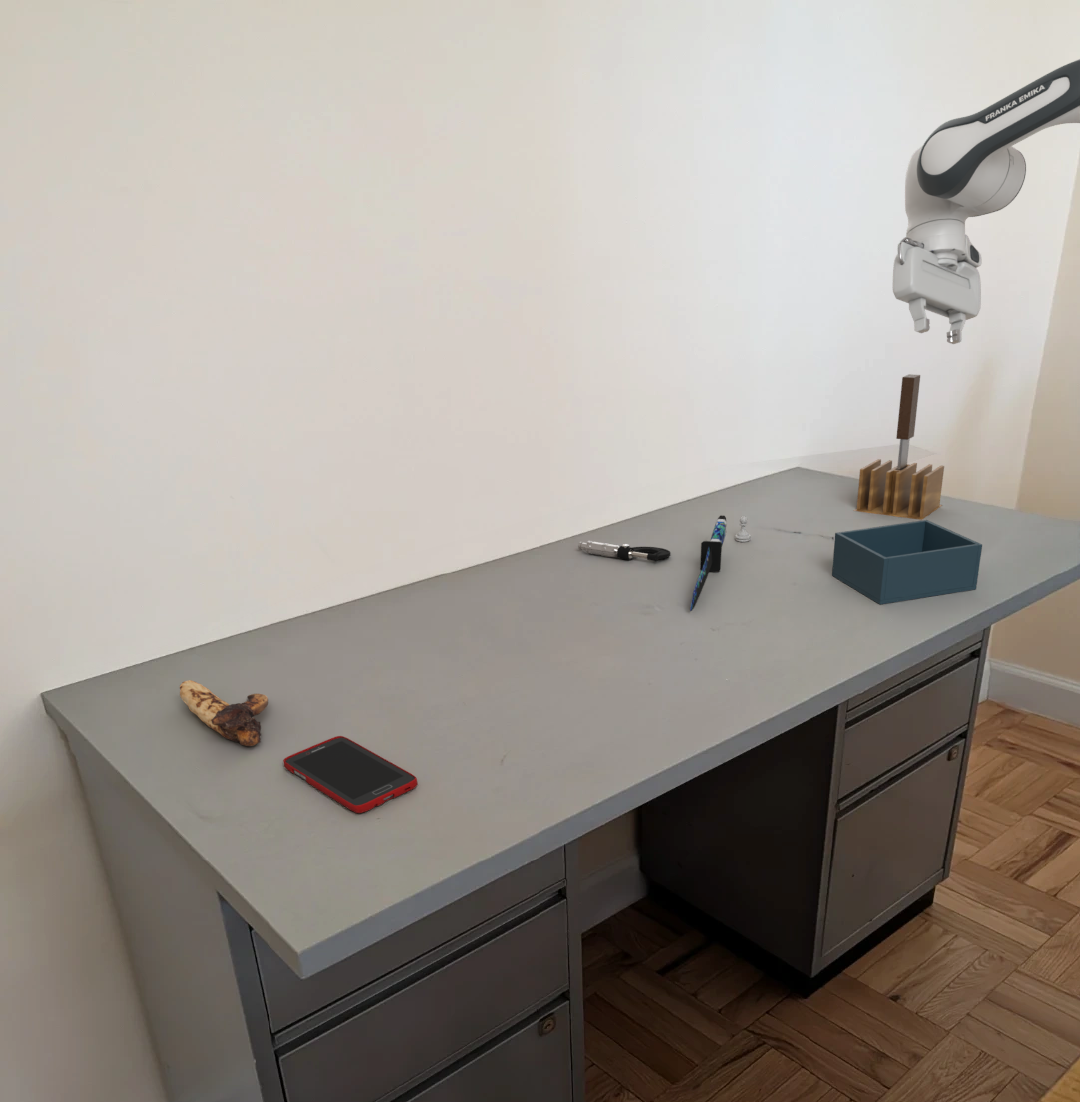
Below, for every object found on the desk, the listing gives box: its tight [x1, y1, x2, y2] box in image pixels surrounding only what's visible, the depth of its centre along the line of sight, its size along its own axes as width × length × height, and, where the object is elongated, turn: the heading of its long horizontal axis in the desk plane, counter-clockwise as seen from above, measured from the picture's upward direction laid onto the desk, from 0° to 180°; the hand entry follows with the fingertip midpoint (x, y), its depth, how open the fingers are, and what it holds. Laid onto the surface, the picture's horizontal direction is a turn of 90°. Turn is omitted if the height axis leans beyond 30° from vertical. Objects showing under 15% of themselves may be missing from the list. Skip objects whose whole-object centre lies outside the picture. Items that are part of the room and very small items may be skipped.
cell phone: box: [282, 735, 418, 814], centre depth 108 cm, size 8×15×1 cm, turn 43°
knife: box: [689, 514, 728, 612], centre depth 156 cm, size 31×3×4 cm, turn 159°
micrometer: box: [577, 540, 671, 562], centre depth 169 cm, size 15×7×2 cm, turn 55°
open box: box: [831, 519, 983, 605], centre depth 149 cm, size 15×13×7 cm
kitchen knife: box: [895, 373, 921, 470], centre depth 175 cm, size 2×3×22 cm, turn 142°
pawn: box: [734, 515, 752, 543], centre depth 172 cm, size 3×3×4 cm
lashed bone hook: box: [179, 679, 269, 747], centre depth 121 cm, size 9×5×18 cm
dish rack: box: [852, 458, 945, 521], centre depth 179 cm, size 12×10×8 cm
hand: (938, 337), depth 166 cm, fingers open, 8 cm apart
